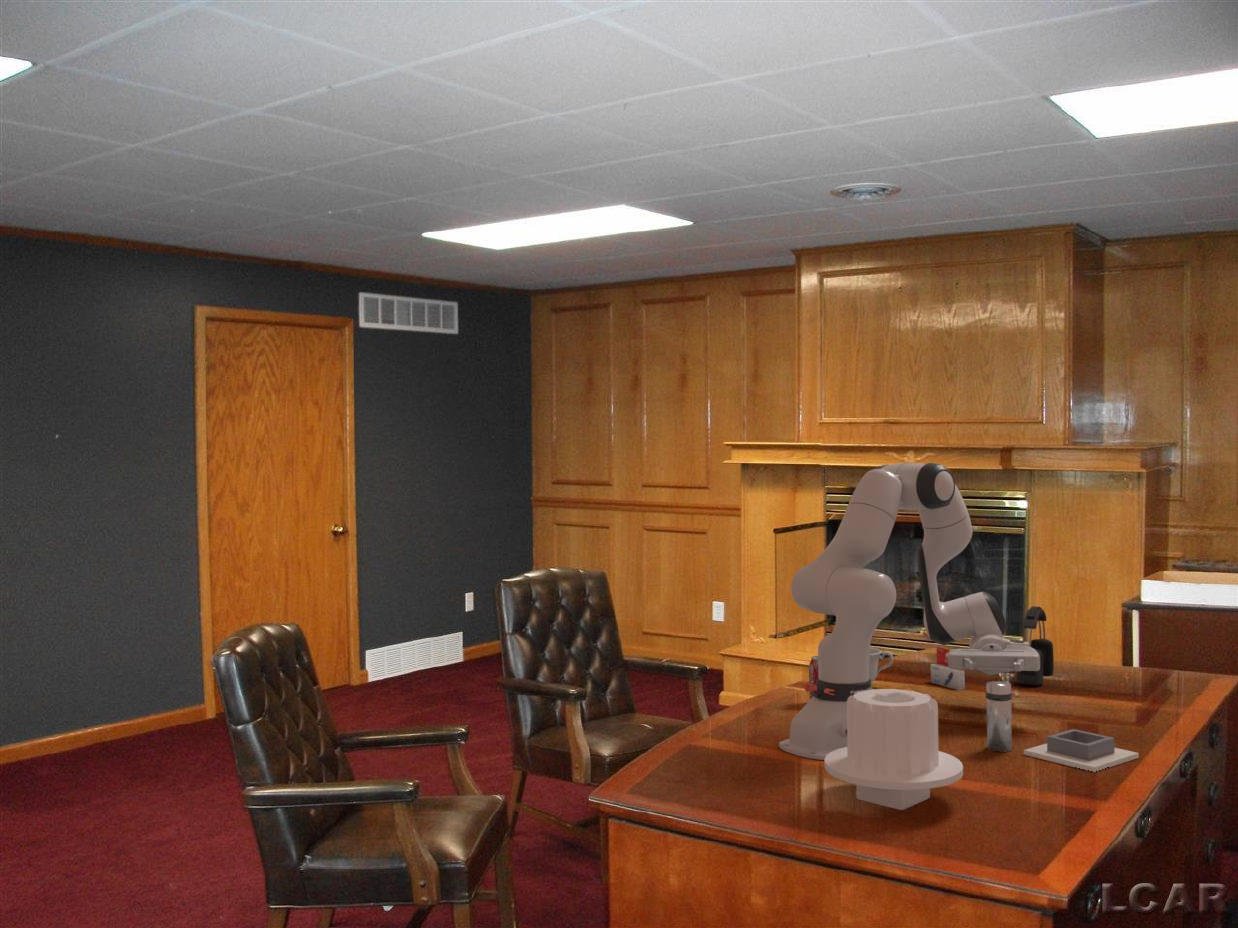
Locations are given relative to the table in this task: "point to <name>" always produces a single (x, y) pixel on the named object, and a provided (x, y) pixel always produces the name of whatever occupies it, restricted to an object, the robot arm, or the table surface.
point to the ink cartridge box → (946, 672)
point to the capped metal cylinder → (999, 716)
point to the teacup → (874, 660)
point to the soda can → (813, 672)
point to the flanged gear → (893, 748)
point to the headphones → (1037, 649)
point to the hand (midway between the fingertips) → (995, 667)
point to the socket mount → (1081, 750)
